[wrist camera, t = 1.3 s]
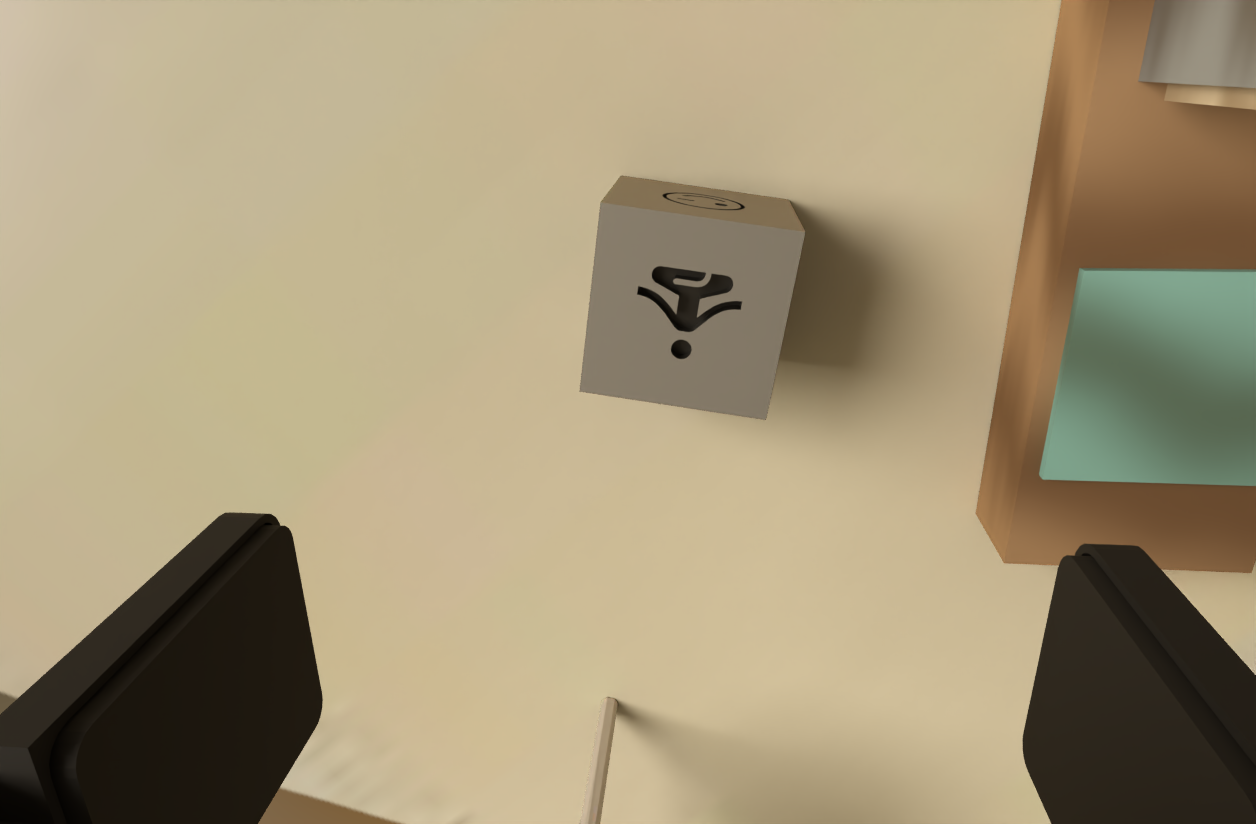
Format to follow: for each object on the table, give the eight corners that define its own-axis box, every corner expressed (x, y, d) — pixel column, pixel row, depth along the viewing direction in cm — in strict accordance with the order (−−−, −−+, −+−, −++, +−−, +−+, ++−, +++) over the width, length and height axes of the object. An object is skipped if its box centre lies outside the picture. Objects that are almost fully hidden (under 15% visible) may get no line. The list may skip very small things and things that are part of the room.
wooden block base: (1097, -211, 20) (1358, -393, 12) (1410, -225, 20) (1911, -426, 11) (975, 513, 28) (1083, 703, 20) (1197, 521, 27) (1404, 721, 19)
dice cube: (788, 199, 25) (805, 232, 20) (756, 357, 27) (766, 419, 22) (620, 175, 25) (600, 202, 20) (602, 334, 27) (579, 391, 22)
